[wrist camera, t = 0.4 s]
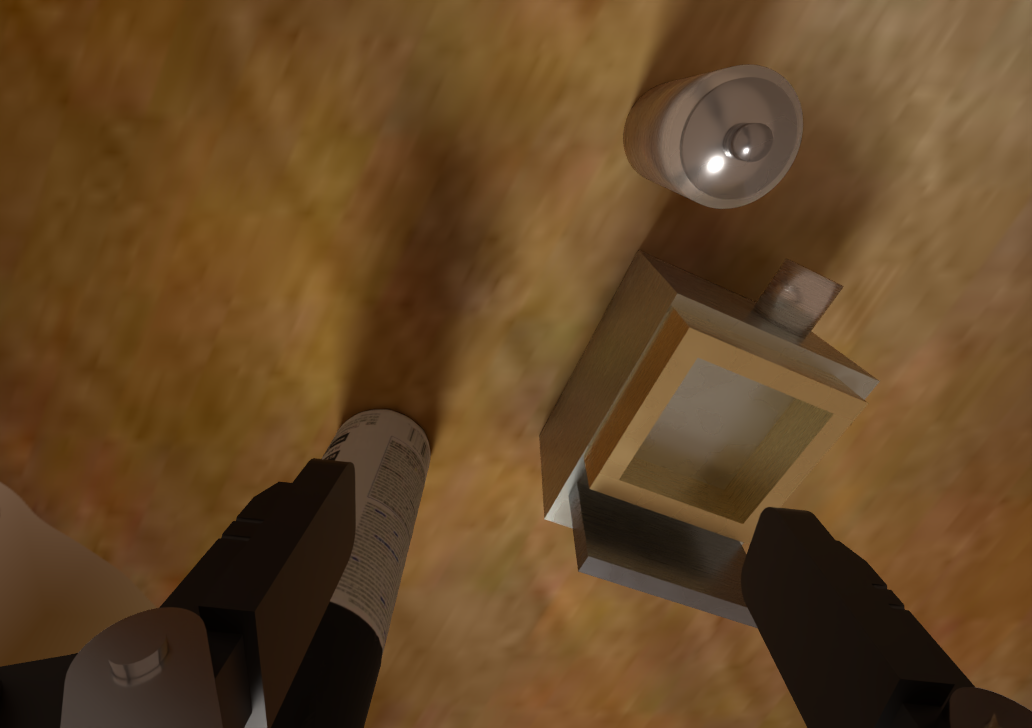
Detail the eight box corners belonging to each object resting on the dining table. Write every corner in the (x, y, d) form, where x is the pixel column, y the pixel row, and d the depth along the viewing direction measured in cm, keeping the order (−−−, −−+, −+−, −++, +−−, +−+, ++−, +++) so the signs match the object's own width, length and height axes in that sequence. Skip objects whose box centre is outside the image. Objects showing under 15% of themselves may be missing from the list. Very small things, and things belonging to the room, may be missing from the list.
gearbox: (664, 200, 28) (770, 259, 16) (827, 276, 30) (1026, 378, 18) (539, 436, 35) (549, 597, 23) (677, 486, 37) (751, 658, 25)
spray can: (346, 393, 33) (144, 713, 15) (444, 420, 34) (362, 753, 16) (330, 470, 36) (143, 817, 18) (422, 493, 37) (330, 846, 19)
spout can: (651, 64, 25) (734, 31, 15) (733, 106, 26) (860, 99, 16) (607, 160, 27) (655, 183, 17) (684, 196, 28) (771, 237, 18)
